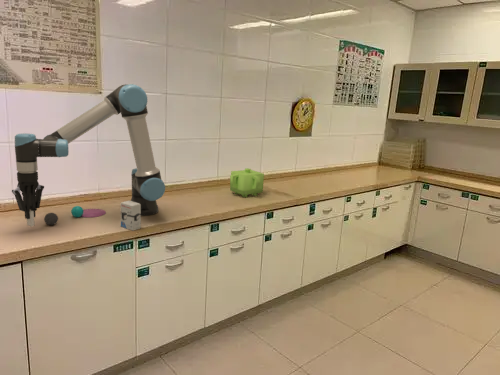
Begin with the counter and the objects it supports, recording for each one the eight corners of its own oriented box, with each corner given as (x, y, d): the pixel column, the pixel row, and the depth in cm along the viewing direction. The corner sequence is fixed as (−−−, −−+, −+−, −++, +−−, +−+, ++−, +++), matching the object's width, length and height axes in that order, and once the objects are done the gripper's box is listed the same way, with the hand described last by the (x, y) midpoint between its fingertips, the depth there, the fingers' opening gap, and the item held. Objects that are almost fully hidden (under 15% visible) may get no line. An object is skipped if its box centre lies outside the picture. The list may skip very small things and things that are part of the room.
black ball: (61, 224, 173) (60, 212, 171) (50, 227, 168) (49, 215, 167) (52, 221, 175) (52, 210, 174) (41, 225, 170) (41, 213, 169)
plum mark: (111, 212, 194) (111, 212, 194) (89, 219, 182) (89, 218, 182) (92, 207, 200) (92, 207, 200) (69, 213, 188) (69, 213, 187)
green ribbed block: (250, 188, 264) (252, 164, 260) (271, 196, 247) (273, 170, 243) (220, 192, 249) (221, 166, 245) (240, 200, 232) (242, 173, 228)
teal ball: (86, 216, 185) (85, 205, 184) (76, 219, 180) (76, 208, 179) (78, 214, 187) (77, 203, 186) (68, 217, 182) (68, 206, 181)
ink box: (120, 226, 175) (119, 202, 172) (128, 224, 179) (128, 200, 176) (132, 231, 170) (132, 205, 168) (141, 228, 174) (141, 203, 172)
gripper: (36, 168, 164) (39, 219, 170) (5, 172, 153) (10, 227, 158) (47, 170, 161) (50, 223, 167) (17, 175, 150) (21, 231, 155)
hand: (30, 225), depth 162 cm, fingers closed
